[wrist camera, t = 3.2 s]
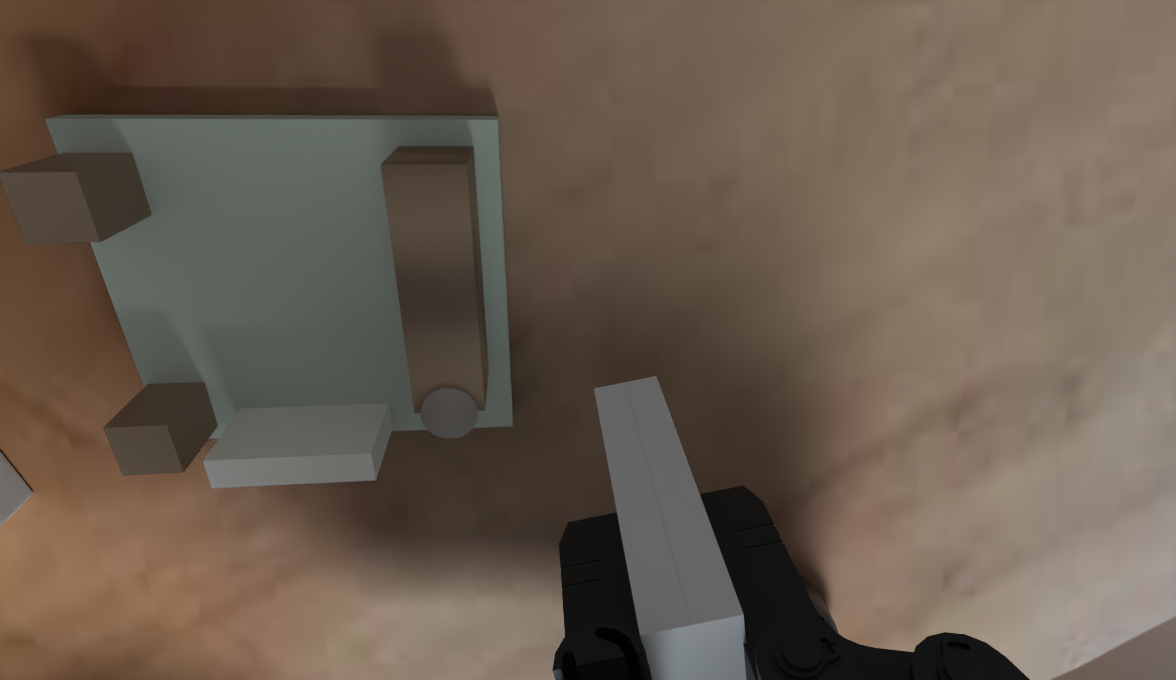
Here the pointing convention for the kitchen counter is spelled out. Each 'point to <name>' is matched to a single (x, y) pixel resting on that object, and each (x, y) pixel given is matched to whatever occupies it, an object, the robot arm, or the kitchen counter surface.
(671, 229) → the kitchen counter surface
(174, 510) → the kitchen counter surface
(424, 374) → the hinged leg
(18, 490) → the milk
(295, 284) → the stool seat
